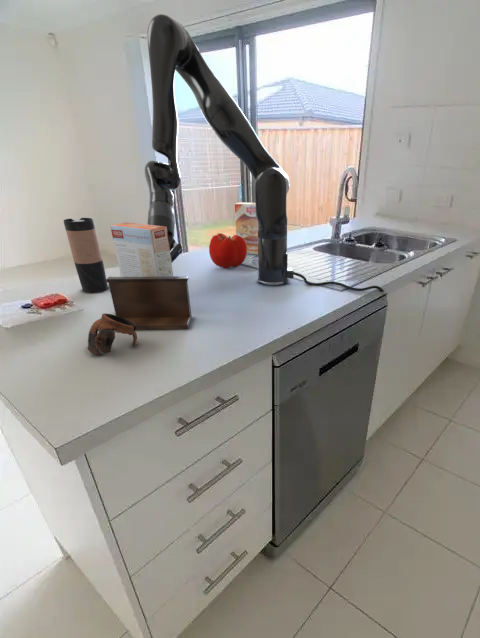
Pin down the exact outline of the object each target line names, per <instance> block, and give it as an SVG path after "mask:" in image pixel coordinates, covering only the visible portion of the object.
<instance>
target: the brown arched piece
mask: <svg viewBox="0 0 480 638" xmlns="http://www.w3.org/2000/svg"><path fill="white" fill-rule="evenodd" d="M136 328H137V326H136V325H135V324H134V323H132V322H130V321H128V320H126V319H124V318H122V317H119V316H116V314H113V313H102V314H101V318H99V319H97V320H95V321H94V322H93V323H92V325H91V326H90V328H89V331H88V334H87V335H88V337H87V338H88V339H87V350H88V351H89V352H90V353H91V354H92V355H95V356H99V352H101V353H102V354H108V353H111V352H112V347H113V344H114V341H115V339H116V333H119V334H122V335H129V336H132V339H133V341H132V345H133V346H134V347H135V346H137V344H138V343H137V342H138V334H137V332H136V331H137V330H136Z"/></svg>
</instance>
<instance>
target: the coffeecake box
mask: <svg viewBox="0 0 480 638" xmlns="http://www.w3.org/2000/svg"><path fill="white" fill-rule="evenodd" d="M234 218H235V220H234V221H235V235H237V236H241V237H242V238H243V239H244V241H245V243H246V246H247V255H257V256H258V222H257V217H256V206H255V202H244V201H243V202H242V201H241V202H240V201H239V202H235V203H234Z"/></svg>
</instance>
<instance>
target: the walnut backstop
mask: <svg viewBox="0 0 480 638" xmlns="http://www.w3.org/2000/svg"><path fill="white" fill-rule="evenodd" d="M106 280H107V284H108V289H109V292H110V297H111V301H112V305H113V309H114V313H115V314H114V315H116V316H119V317H122V318H124V319H126V320H128V321H130V322H132V323H134V324H135V325H136V326H137V328H136V330H135V331H144V330H145V331H146V330H148V331H149V330H151V331H152V330H153V331H155V330H188V329H189V328H190V325H191V321H192V318H193V316H192V309H191V308H192V307H191V299H190V292H189V283H188V282H189V276H188V275H185V276H183V275H181V276H179V275H177V276H176V275H175V276H174V275H173V276H164V277H121V276H109V277H106Z"/></svg>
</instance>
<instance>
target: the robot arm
mask: <svg viewBox="0 0 480 638" xmlns="http://www.w3.org/2000/svg"><path fill="white" fill-rule="evenodd" d="M146 33H147V36H146V37H147V50H148V59H149V70H150V84H151V95H152V97H151V98H152V123H151V124H152V125H151V126H152V127H151V129H152V130H151V148H152V150H153V151H154V152H156V153H158V154H160V155H163V156H164V157H165V158H167V160H168V161H169V163H166V162H161V161H157V160H149V161H148V162H146V164H145V165H144V169H143V171H144V172H143V174H144V178H145V181H146V185H147V188H148V192H149V201H148V203H149V205H148V211H147V225H155V226H164V227H167V233H168V241H169V248H170V255H171V263H172V264H173V263H174V261H175V260H177V258H178V257H179V256H180V255H181V253H182V252H183V251H184V250H183V246H182V244H181V243H177V242H176V239H175V224H176V219H175V217H176V216H175V196H174V193H173V192H172V191H177V190H178V189H179V188H180V186H181V183H182V177H181V172H180V171H181V170H180V166H179V159H178V135H179V117H178V109H177V103H176V95H175V75H176V72H177V73H178V75H179V77H181V78H182V79H183V81H184V82H185V83H186V85H187V86H188V88H189V89H190V90H191V93H193V95H194V98H195V100H196V102H197V105H198V107H199V109H200V112H201V114H202V115H203V117H204V120H205V121H206V123H207V124H208V126H210V128H211V130H212V131H213V133H214V134H215V135H216V136H217V138H218V140H220V141H221V142H222V144H223V145H224V146H225V147H226V148H227V149H228V150H229V151H230V152H231V153H232V154H233V155H235V156H236V158H238V159H239V161H241V162H242V163H243V164H244V166H245V167H246V168H247V169H248V171H249V172H250V174H251V175H252V177H253V179H254V180H255V183H254V198H255V199H254V201H255V202H254V203H255V206H256V217H257V222H258V255H257V261H258V263H257V268H258V275H257V276H258V279H257V280H258V281H257V282H258V283H259V284H261V285H264V286H281V285H288V279H294V276H296V277H299V278H302V280H303V281H304V284H306V285H308V286H326V285H336V286H340V287H342V288H345V289H348V290H350V291H354V292H365V291H368V290H369V291H370V290H373V289H376V290H379V291H380V292H384V289H383V288H382V287H380V286H378V285H370V286H365V287H361V288H360V287H353V286H350V285H347V284H345V283H342V282H339V281H331V280H330V281H322V282H316V283H315V282H310V281H308V280H307V278H306V276H304V275H303V274H302V273H298V272H295V271H294V269H293V267H288V259H289V258H288V216H287V215H288V214H287V195H288V193H289V190H290V179H289V176H288V174H287V173H286V172H285V170H283V168H282V167H281V166H280V164H278V163H277V162H276V161H275V159H274V158H273V157H272V156H271V154H270V153H269V152H268V151H267V149H266V148H265V147H264V145H263V143H262V141H261V140H260V139H259V138H260V137H258V135H257V133H256V131H255V130H254V128H253V127H252V125H251V123H250V122H249V120H248V119H247V117H246V116H245V114H244V113H243V111H242V109H241V108H240V107H239V105H238V104H237V103H236V101H235V99H234V97H232V95H231V94H230V93H229V92H228V90H227V89H226V87H225V86H224V85H223V84H222V81H220V80H219V78H217V76H216V75H215V73H213V71H212V70H211V68H210V67H209V65H208V64H207V62H206V61H205V59H204V57H203V55H202V54H201V52H200V50H199V48H198V46H197V45H196V43H195V42H194V40H193V38H192V36H191V34H190V33H189V31H188V30H187V28H185V26H184V25H183V24H182V23H180V22H179V21H177V20H176V19H174V18H173V17H171V16H169V15H167V14H164V13H160V14H156V15H155V16H153V17H152V18H151V20H150V21H149V24H148V26H147V31H146Z"/></svg>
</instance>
